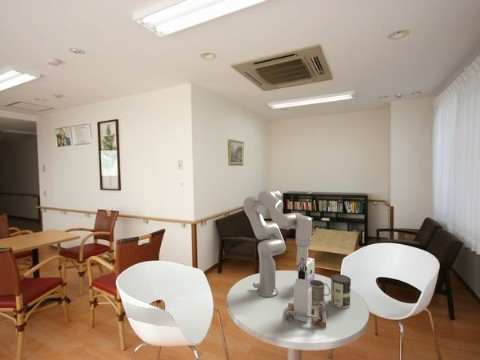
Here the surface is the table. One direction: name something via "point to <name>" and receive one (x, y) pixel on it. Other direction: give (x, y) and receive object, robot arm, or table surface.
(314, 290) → the mug
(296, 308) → the milk carton
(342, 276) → the coffee can
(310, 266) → the candy box
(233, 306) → the table surface
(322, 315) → the hook post
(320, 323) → the wooden frame
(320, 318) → the rail
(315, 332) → the table surface
